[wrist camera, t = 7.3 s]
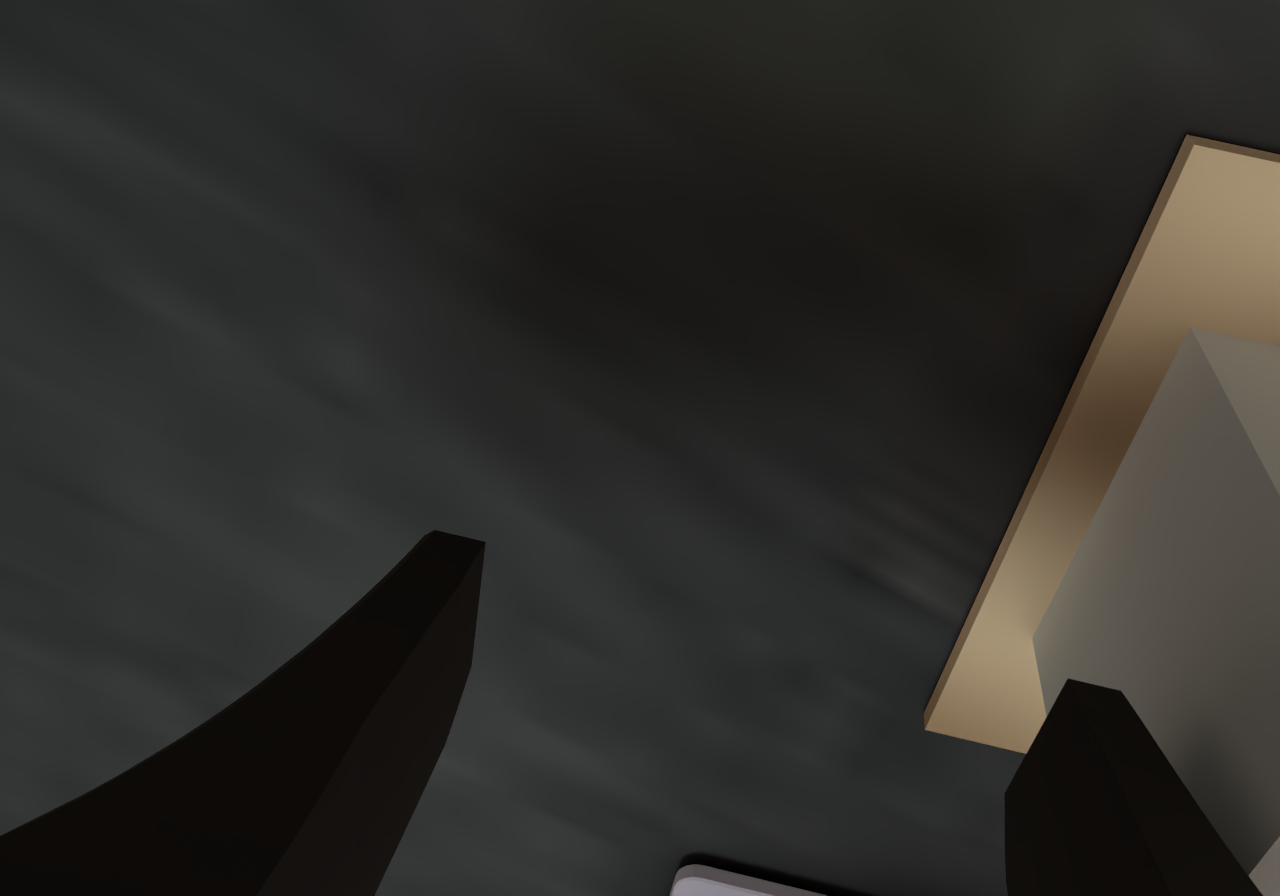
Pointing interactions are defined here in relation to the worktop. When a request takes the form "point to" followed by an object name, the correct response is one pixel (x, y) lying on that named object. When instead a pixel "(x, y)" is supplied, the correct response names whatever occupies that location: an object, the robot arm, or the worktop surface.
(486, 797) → the worktop surface
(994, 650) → the board
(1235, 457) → the slab
